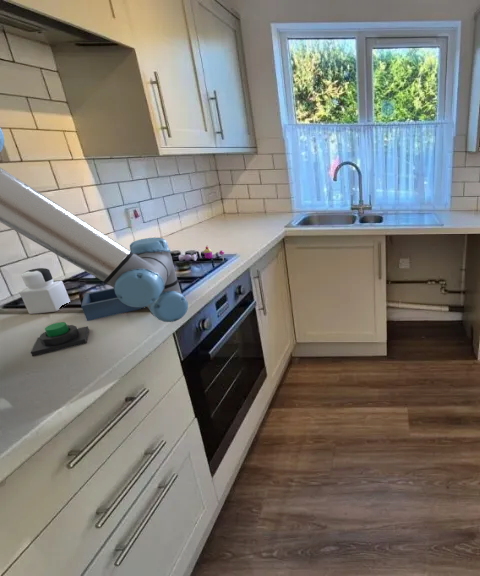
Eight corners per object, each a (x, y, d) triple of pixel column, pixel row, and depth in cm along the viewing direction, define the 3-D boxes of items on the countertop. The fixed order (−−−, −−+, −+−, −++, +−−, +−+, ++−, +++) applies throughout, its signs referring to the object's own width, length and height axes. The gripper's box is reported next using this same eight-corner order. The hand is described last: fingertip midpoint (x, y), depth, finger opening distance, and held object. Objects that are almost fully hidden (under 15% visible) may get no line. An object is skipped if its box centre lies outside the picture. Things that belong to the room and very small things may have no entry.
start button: (46, 339, 85) (43, 331, 84) (49, 332, 88) (46, 325, 88) (68, 334, 87) (65, 326, 86) (70, 327, 90) (67, 320, 90)
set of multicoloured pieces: (177, 264, 142) (173, 249, 139) (185, 258, 149) (181, 244, 146) (225, 261, 144) (222, 246, 141) (230, 255, 151) (227, 241, 149)
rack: (87, 321, 99) (81, 306, 97) (90, 307, 107) (84, 293, 105) (169, 302, 109) (165, 288, 107) (166, 291, 117) (162, 278, 115)
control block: (32, 356, 83) (27, 345, 82) (39, 341, 89) (34, 331, 88) (86, 343, 88) (82, 332, 87) (89, 330, 94) (85, 319, 93)
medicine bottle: (45, 304, 110) (29, 267, 106) (71, 301, 111) (56, 265, 107) (28, 314, 104) (10, 275, 99) (56, 312, 105) (40, 273, 100)
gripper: (114, 316, 90) (100, 291, 106) (199, 292, 103) (176, 273, 118) (104, 289, 87) (91, 267, 103) (193, 268, 100) (170, 251, 115)
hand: (136, 270), depth 110 cm, fingers closed on can, 7 cm apart
